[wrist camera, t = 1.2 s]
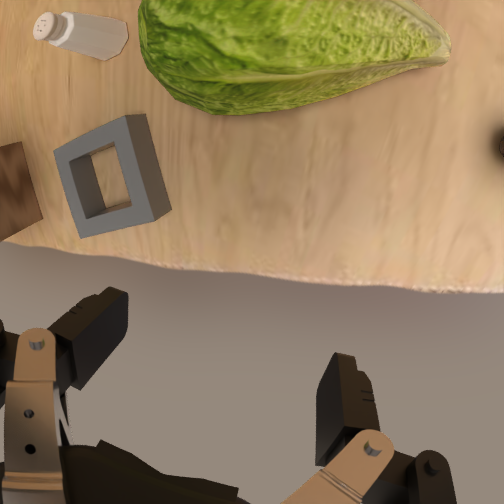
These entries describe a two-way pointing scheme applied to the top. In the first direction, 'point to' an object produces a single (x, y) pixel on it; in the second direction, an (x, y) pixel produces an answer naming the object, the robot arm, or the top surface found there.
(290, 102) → the lettuce
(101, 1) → the top surface
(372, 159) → the top surface
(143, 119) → the socket block
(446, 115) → the top surface
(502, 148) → the light bulb
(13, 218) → the awning shelter
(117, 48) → the salt shaker
